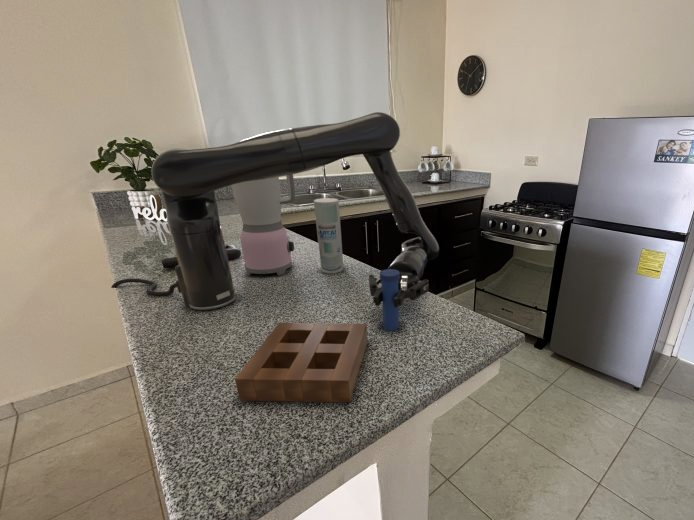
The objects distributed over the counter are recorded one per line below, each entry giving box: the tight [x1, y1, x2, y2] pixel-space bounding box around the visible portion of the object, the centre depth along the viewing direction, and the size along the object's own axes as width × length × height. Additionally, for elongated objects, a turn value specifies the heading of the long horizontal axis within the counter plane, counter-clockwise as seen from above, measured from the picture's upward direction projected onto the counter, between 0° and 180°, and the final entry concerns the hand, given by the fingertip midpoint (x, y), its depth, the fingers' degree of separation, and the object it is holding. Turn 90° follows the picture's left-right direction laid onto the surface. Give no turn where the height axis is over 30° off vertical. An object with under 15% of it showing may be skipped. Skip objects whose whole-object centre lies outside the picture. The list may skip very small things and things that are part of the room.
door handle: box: [160, 243, 242, 270], centre depth 107 cm, size 3×20×16 cm
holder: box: [234, 322, 368, 403], centre depth 58 cm, size 16×16×4 cm
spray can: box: [313, 197, 344, 274], centre depth 97 cm, size 6×6×20 cm
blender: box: [231, 174, 296, 276], centre depth 94 cm, size 16×12×32 cm
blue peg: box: [379, 268, 400, 332], centre depth 69 cm, size 4×4×12 cm
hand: (386, 302), depth 66 cm, fingers closed on blue peg, 3 cm apart
